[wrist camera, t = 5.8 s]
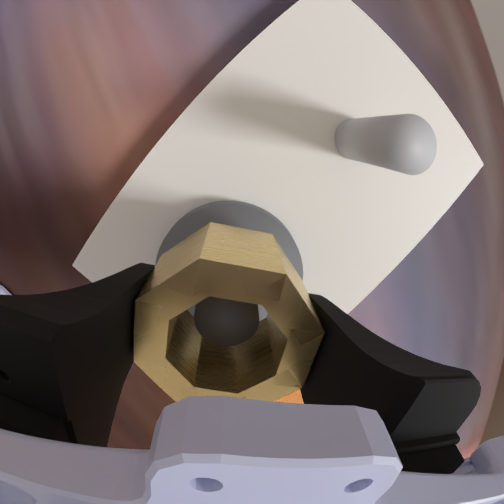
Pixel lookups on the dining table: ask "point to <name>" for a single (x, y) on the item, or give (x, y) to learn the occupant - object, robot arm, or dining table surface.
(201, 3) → the dining table surface
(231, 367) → the brass collar
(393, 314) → the dining table surface
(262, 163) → the assembly board
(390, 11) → the dining table surface
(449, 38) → the dining table surface
